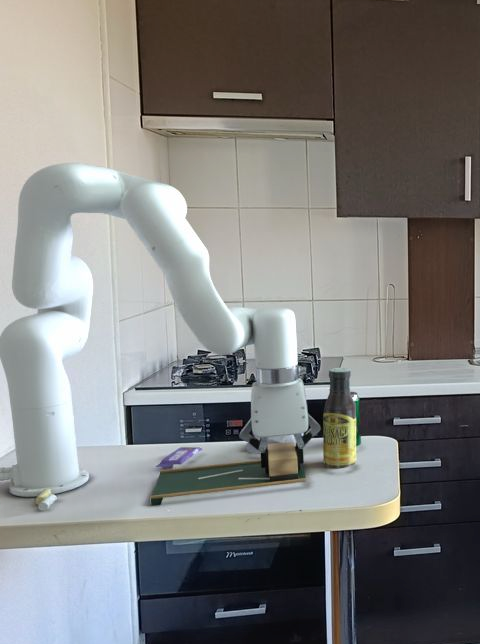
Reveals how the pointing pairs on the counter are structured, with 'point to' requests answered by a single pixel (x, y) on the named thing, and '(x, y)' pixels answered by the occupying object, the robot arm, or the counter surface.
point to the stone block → (273, 442)
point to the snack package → (178, 456)
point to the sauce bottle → (339, 422)
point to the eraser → (282, 461)
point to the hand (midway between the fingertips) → (282, 468)
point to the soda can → (357, 417)
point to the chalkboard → (214, 479)
